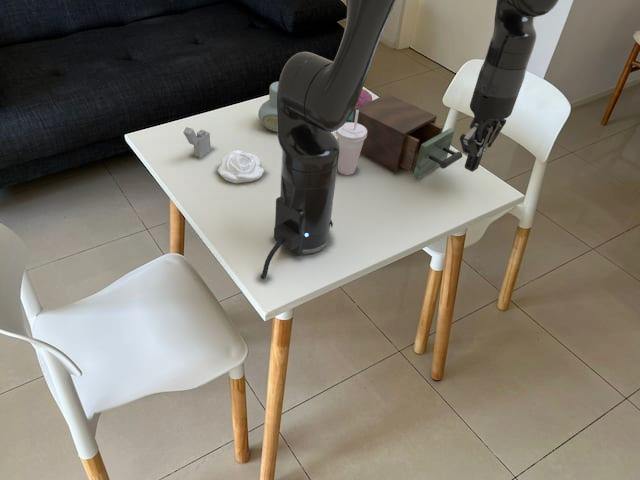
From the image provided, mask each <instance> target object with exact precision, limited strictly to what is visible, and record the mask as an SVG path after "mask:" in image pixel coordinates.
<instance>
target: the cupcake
mask: <svg viewBox="0 0 640 480" xmlns="http://www.w3.org/2000/svg"><path fill="white" fill-rule="evenodd" d="M370 101H373V96H372V94H371V93H370V92H369V91H368V90H366V89H364V88H363V89H362V91H361V94H360V97H359V99H358V101H357V104H356V106H355V108H357V107H360V106H362V105H364V104H366V103H368V102H370ZM355 108H354V109H355ZM353 113H354V110H353V112H352V114H351V115H350V117H349V119H348V120H347V121H350V122H352V120H353Z"/></svg>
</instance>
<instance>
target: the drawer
mask: <svg viewBox="0 0 640 480" xmlns="http://www.w3.org/2000/svg"><path fill="white" fill-rule="evenodd" d="M443 128H444V127H443V126H440V125H439V124H437V123H435V124H434V123H432V122H430V123H428V124H426V125H425V126H423V127H421V128H419V129H417V130H415V131H413V132H412V133H410V134H408V135H406V136H405V140H404V145H403V150H402V154H401V159H400V163H399V166H400V167H402V168H403V169H404V170H406V171H408V172H411V173H412V172H413V175H412V177H413V178H414V179H416V180H418V179H421V178H422V177H423V176H425V175H427V174H429V173H430V172H431V171H434V170H435V169H437V168H438V167H440V168H441V169H444V170H445V169H446V168H448V167H450V166H451V165H452V164H454V163H455V162H457V161H459V160H460V159H462V158H463V155H464V154H463V152H461V151H454V150H452V149H450V148H451V145H452V141H453V137H454V134H455V131H456V130H455V129H453V128H451V127H449V128H447V129H445V130H444V131H443ZM449 155H450V156H449Z"/></svg>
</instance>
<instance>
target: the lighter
mask: <svg viewBox="0 0 640 480" xmlns="http://www.w3.org/2000/svg"><path fill="white" fill-rule="evenodd" d="M182 133H183V135H184V136H185V138H186V140H187V142H188V144H190V145H193V153H194V157H195V158H199V159H202V158H203V157H204V156H205V155H207V154H208V153H209V152H211V150H212V148H211V146H212V145H211V132H210V131H206V130H205V129H200V130H198V131H197V132H195V130H194V129H193V128H191V127H188V126H186V127H185V128H184V130H183V132H182Z"/></svg>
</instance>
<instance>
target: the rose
mask: <svg viewBox="0 0 640 480" xmlns="http://www.w3.org/2000/svg"><path fill="white" fill-rule="evenodd" d="M264 172H265V169H264V168H263V167H262V166H261V159H260V158H259V157H258V156H257V155H255V154H253V153H250V152H245V151H243V150H241V149H235V150H231V151H229V152H227V153H226V154H225V155H224V156H223V157H222V160H221V161H220V165H219V167H218V169H217V173H218V174H219V176H221V177H222V178H223V179H224V180H225V181H226V182H229V183H232V184H242V183H252V182H255V181H257V180H259V179H261V178H262V176H263V174H264Z"/></svg>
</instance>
